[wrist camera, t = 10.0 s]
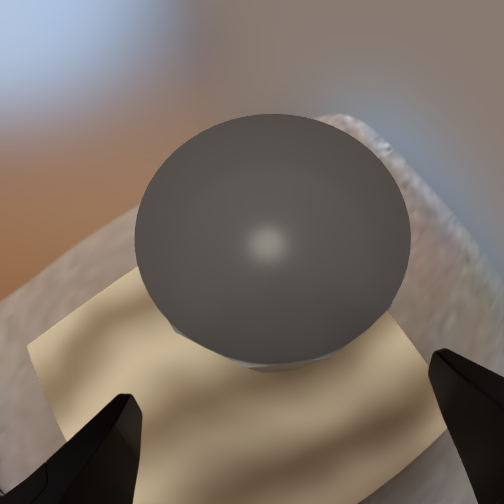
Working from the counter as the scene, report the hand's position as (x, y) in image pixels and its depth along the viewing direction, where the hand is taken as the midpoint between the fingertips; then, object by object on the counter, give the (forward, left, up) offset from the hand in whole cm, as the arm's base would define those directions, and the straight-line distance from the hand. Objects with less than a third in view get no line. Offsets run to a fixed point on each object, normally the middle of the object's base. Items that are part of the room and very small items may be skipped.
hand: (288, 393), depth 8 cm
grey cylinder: (+4, -2, -11) cm, 11 cm away
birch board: (+1, +4, -12) cm, 12 cm away
